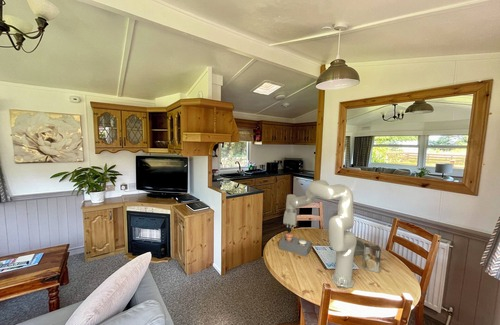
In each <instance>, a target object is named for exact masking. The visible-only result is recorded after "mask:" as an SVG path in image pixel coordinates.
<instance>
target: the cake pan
mask: <svg viewBox="0 0 500 325" xmlns="http://www.w3.org/2000/svg"><path fill="white" fill-rule="evenodd" d="M361 255H364V242H363V241H361V240H360V239H357V243H356V247H355V251H354V256H361Z"/></svg>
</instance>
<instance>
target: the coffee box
mask: <svg viewBox="0 0 500 325" xmlns="http://www.w3.org/2000/svg"><path fill="white" fill-rule="evenodd" d="M363 243H364V242H363ZM362 255H363V256H362V267H363V270H365V271H370V272H375V273H380V267H381V265H380V264H381V255H382V248H381V247H380V245H377V244H371V243H366V242H365V243H364V253H363V254H362Z"/></svg>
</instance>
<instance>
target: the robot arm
mask: <svg viewBox="0 0 500 325" xmlns="http://www.w3.org/2000/svg"><path fill="white" fill-rule="evenodd" d="M307 186H308V188H307V189H306V190H305V195H303V196H297V195H295V194H294V193H293V194H291V193H290V194H287V195H286V201H285V202H286V203H285V211H284V215H283V221H282V222H283V225H285V226H286V228H287V229H286V230H287V233H292V230H293V229H292V228H294V227H295V228H296V227H297V223H298V215H297V213H298V210H297V208H301V207H307V206H309V205H310V204H312V203H313V202H315V200H316V199H317V198H322V199H324V200H330V201H331V200H336V199H339V201H338V203H337V214H336V215H333V216H331V217H330V219H329V221H328V242H329V246H330V248H331V249H332V250H333V251H335V252H336V256H335V263H334V264H335V267H334V273H333V274H332V275H331V281H332V282H333V283H334V284H335V285H336V286H338V287H341V288H345V289H349V288H353V287H354V285H355V281H354V279H353V278H352V277H353V268H354V267H353V266H354V256H355V255H354V251H355V247H356V243H357V240H358V238H357V237H356V235H355V233H354V232H352V231H349V230H351V229H353V227H354V224H355V222H354V194H353V192H352V190H351V188H350V187H348V186H347V185H345V184H332V185H330V184H329V182H328V181H326V180H324V179H322V180H321V179H320V180H313V181H311V182H309V184H308V185H307Z"/></svg>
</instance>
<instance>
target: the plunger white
mask: <svg viewBox="0 0 500 325" xmlns="http://www.w3.org/2000/svg"><path fill="white" fill-rule="evenodd" d="M305 240H306V239H304V240H299V243H300V245H304V246H305V244H306V241H305Z"/></svg>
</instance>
